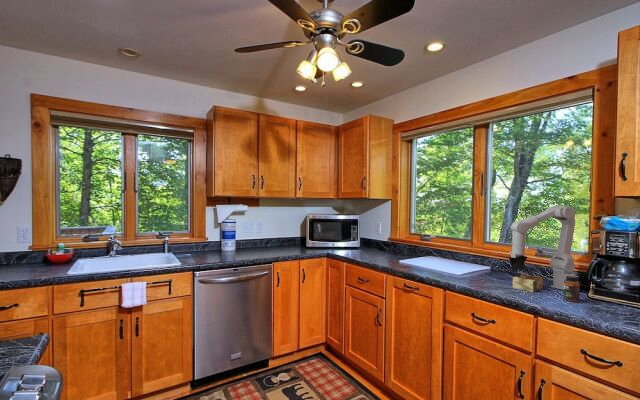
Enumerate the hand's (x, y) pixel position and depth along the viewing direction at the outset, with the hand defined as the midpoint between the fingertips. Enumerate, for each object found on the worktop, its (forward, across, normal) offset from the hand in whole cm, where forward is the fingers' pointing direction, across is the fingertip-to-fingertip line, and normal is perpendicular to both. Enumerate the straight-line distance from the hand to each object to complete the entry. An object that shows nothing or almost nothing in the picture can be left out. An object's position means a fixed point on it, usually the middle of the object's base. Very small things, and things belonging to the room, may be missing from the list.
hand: (517, 270), depth 164 cm
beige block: (+10, 0, +4) cm, 10 cm away
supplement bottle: (+10, +2, +23) cm, 25 cm away
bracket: (+9, -8, +4) cm, 13 cm away
